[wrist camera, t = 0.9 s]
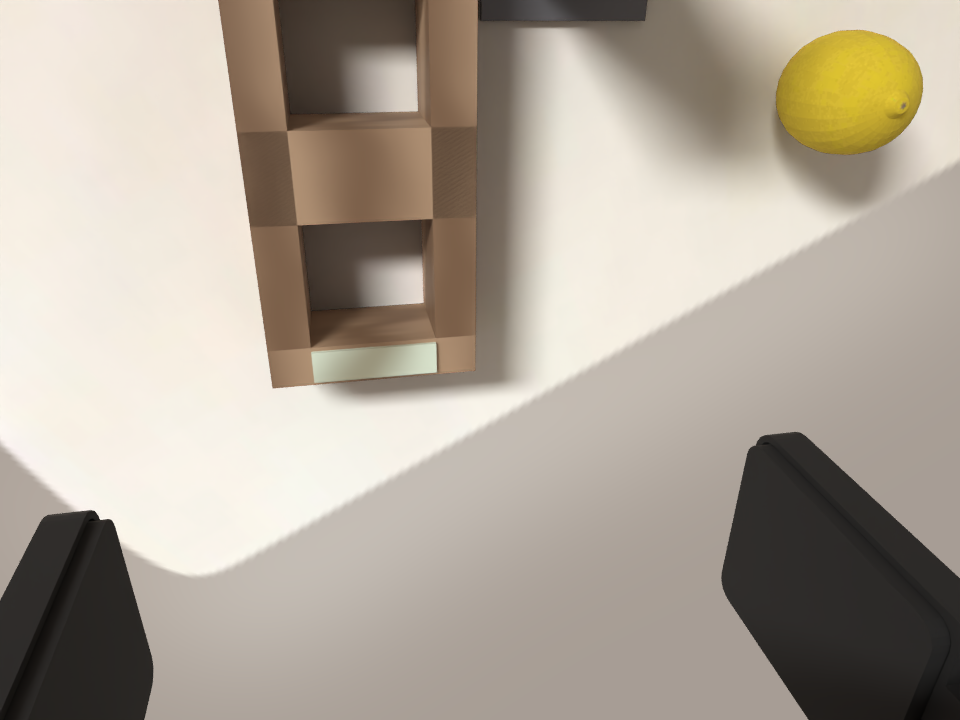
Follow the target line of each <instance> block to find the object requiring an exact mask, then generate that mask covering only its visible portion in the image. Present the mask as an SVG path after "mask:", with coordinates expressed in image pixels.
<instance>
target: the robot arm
mask: <svg viewBox="0 0 960 720" xmlns="http://www.w3.org/2000/svg"><path fill="white" fill-rule="evenodd" d="M722 585H723V590H724V592H725V595H726V596H727V599H728V600H729V602H730V603H731V604H732V606H733V607H734V609H735V611H736V612H737V614H738V615H739V617H740V618H741V619H742V621H743V623H744V624H745V625H746V627H747V628H748V630H749V631H750V633H751V634H752V636H753V637H754V639H755V640H756V642H757V643H758V645H759V646H760V648H761V649H762V651H763V652H764V654H765V655H766V657H767V658H768V660H769V661H770V663H771V664H772V666H773V667H774V669H775V670H776V672H777V673H778V675H779V676H780V678H781V679H782V681H783V682H784V684H785V685H786V687H787V688H788V690H789V691H790V693H791V694H792V696H793V697H794V699H795V700H796V702H797V703H798V705H799V706H800V708H801V709H802V711H803V712H804V713H805V715H806V716H807V718H808V719H809V720H960V578H959V577H958V576H956V575H955V573H953V572H952V571H951V570H950V569H949V568H948V567H947V566H946V565H945V564H944V563H943V562H941V561H940V560H939V559H938V558H937V557H936V556H935V555H934V554H933V553H932V552H931V551H929V550H928V549H927V548H926V547H925V546H924V545H923V544H922V543H921V542H920V541H919V540H918V539H916V538H915V537H914V536H913V535H912V534H911V533H910V532H909V531H908V530H907V529H906V528H905V527H904V526H902V525H901V524H900V523H899V522H898V521H897V520H896V519H895V518H894V517H893V516H892V515H891V514H889V513H888V512H887V511H886V510H885V509H884V508H883V507H882V506H881V505H880V504H879V503H877V502H876V501H875V500H874V499H873V498H872V497H871V496H870V495H869V494H868V493H867V492H866V491H865V490H863V489H862V488H861V487H860V486H859V485H858V484H857V483H856V482H855V481H854V480H853V479H852V478H850V477H849V476H848V475H847V474H846V473H845V472H844V471H843V470H842V469H841V468H839V466H837V465H836V464H835V463H834V462H833V461H832V460H831V459H830V458H829V457H828V456H827V455H826V454H824V453H823V452H822V451H821V450H820V449H819V448H818V447H817V446H815V444H814V443H813V442H811V441H810V440H809V439H808V438H807V437H806V436H805V435H803V434H802V433H799V432H791V433H783V434H772V435H765V436H762V437H760V439H759V440H758V441H757V444H756V446H753V447H751V448H750V449H749V451H748V454H747V458H746V463H745V467H744V472H743V476H742V481H741V486H740V491H739V495H738V500H737V504H736V509H735V514H734V518H733V523H732V528H731V532H730V537H729V542H728V546H727V551H726V556H725V560H724V565H723V570H722ZM152 683H153V661H152V656H151V652H150V649H149V645H148V642H147V638H146V635H145V631H144V628H143V624H142V620H141V617H140V613H139V610H138V606H137V603H136V599H135V596H134V592H133V589H132V585H131V582H130V578H129V575H128V571H127V567H126V564H125V561H124V557H123V554H122V550H121V546H120V543H119V539H118V535H117V532H116V528H115V526H114V523H113V522H112V520H110V519H106V520H100V519H99V516H98V515H97V513H96V512H95V511H92V510H89V511H80V512H71V513H62V514H53V515H47V516H45V517H44V518H43V519H42V521H41V522H40V524H39V526H38V528H37V530H36V532H35V534H34V536H33V537H32V540H31V541H30V543H29V545H28V547H27V549H26V551H25V553H24V555H23V557H22V559H21V561H20V563H19V565H18V567H17V569H16V571H15V573H14V575H13V577H12V579H11V580H10V582H9V585H8V586H7V588H6V590H5V592H4V594H3V596H2V598H1V600H0V720H144V718H145V714H146V710H147V705H148V701H149V696H150V693H151V688H152Z"/></svg>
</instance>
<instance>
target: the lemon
mask: <svg viewBox="0 0 960 720" xmlns="http://www.w3.org/2000/svg"><path fill="white" fill-rule="evenodd" d="M922 93H923V77H922V74H921V70H920V67H919V65H918V63H917V61H916V60H915V58H914V57H913V55H912V54H911V53H910V51H909V50H907V49H906V48H905V47H903V46H902V45H900V44H899V43H898V42H896V41H895V40H893V39H891V38H889V37H887V36H884V35H880V34H877V33H873V32H870V31H865V30H847V31H837V32H834V33H831V34H828V35H825V36H822V37H819V38H817V39H815V40H813V41H812V42H810V43H809V44H807V45H806V46H804V47H802V48H801V49H800V50H799V51H798V52H797V53H796V54H795V55H794V56H793V57H792V58H791V60H790V61H789V63H788V64H787V65H786V67H785V68H784V70H783V72H782V75H781V77H780V79H779V82H778V87H777V92H776V106H777V111H778V114H779V118H780V120H781V122H782V124H783V125H784V127H785V129H786V130H787V132H788V133H789V134H790V135H792V136H793V137H794V138H795V139H796V140H797V141H798V142H800V143H801V144H803V145H805V146H807V147H809V148H812V149H814V150H817V151H820V152H823V153H829V154H842V155H851V154H859V153H863V152H868V151H872V150H875V149H877V148H879V147H881V146H883V145H886V144H887V143H889V142H891V141H892V140H893V139H895V138H896V137H897V136H899V135H900V134H901V133H902V132H903V131H904V129H905V128H906V127H907V126H908V125H909V124H910V122H911V121H912V119H913V118H914V116H915V114H916V113H917V110H918V108H919V105H920V103H921V98H922Z"/></svg>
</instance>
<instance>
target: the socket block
mask: <svg viewBox="0 0 960 720" xmlns="http://www.w3.org/2000/svg"><path fill="white" fill-rule="evenodd" d="M218 2H219V9H220V16H221V23H222V30H223V38H224V45H225V52H226V59H227V66H228V73H229V80H230V88H231V95H232V102H233V109H234V116H235V123H236V130H237V137H238V145H239V152H240V159H241V166H242V173H243V180H244V187H245V195H246V202H247V209H248V216H249V223H250V230H251V237H252V245H253V252H254V259H255V266H256V273H257V280H258V287H259V294H260V302H261V309H262V316H263V323H264V330H265V337H266V344H267V352H268V359H269V366H270V373H271V380H272V387H273V388H283V387H294V386H306V385H317V384H329V383H340V382H352V381H363V380H375V379H386V378H398V377H409V376H421V375H432V374H444V373H455V372H466V371H475V343H476V188H477V33H478V0H415V20H416V55H417V89H418V112H375V113H329V114H290V106H289V97H288V87H287V78H286V68H285V59H284V50H283V40H282V31H281V21H280V12H279V2H278V0H218ZM400 220H421V227H422V261H423V296H424V303H421V304H406V305H392V306H377V307H363V308H349V309H334V310H320V311H311V304H310V294H309V285H308V275H307V266H306V257H305V247H304V238H303V228H302V225H317V224H338V223H359V222H379V221H400Z"/></svg>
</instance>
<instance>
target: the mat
mask: <svg viewBox="0 0 960 720" xmlns="http://www.w3.org/2000/svg"><path fill="white" fill-rule="evenodd" d="M646 6H647V0H480V20H481V21H645V16H646Z"/></svg>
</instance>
